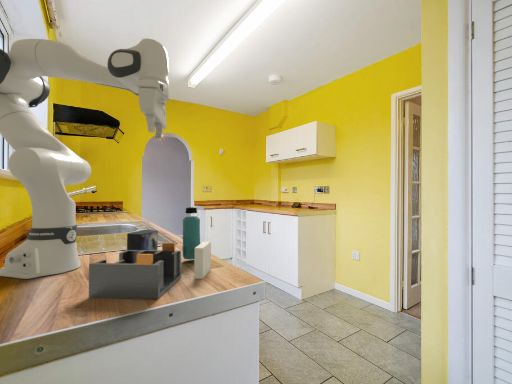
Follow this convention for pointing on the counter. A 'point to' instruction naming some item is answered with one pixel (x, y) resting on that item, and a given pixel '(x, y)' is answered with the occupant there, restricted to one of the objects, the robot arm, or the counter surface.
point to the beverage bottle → (190, 234)
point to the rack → (136, 274)
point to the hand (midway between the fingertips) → (155, 135)
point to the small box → (142, 240)
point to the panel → (202, 259)
